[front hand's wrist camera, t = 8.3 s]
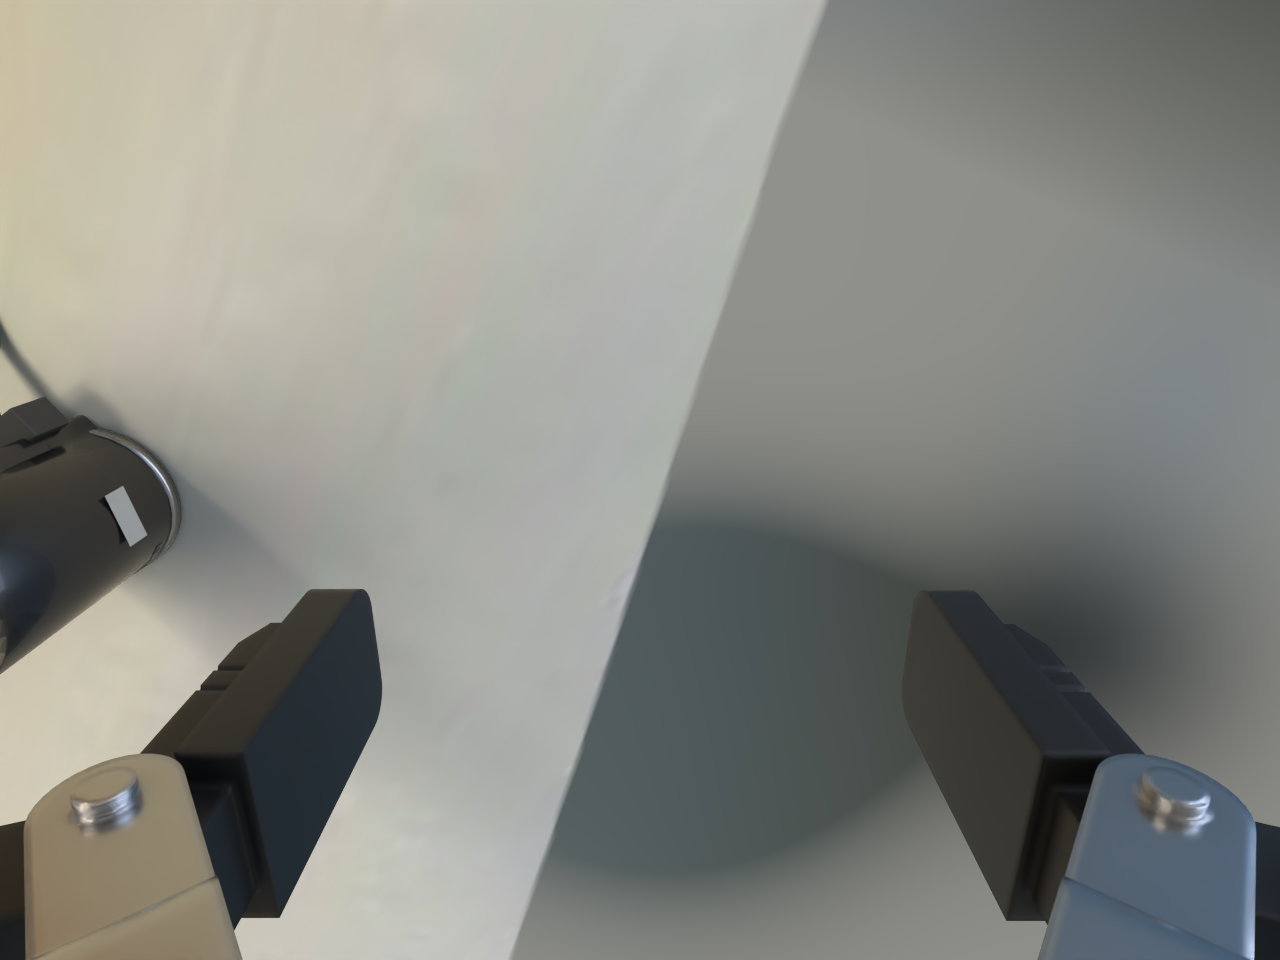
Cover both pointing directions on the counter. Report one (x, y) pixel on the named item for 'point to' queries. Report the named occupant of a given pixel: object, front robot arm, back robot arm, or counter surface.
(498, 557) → the counter surface
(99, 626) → the counter surface
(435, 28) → the counter surface
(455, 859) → the counter surface
